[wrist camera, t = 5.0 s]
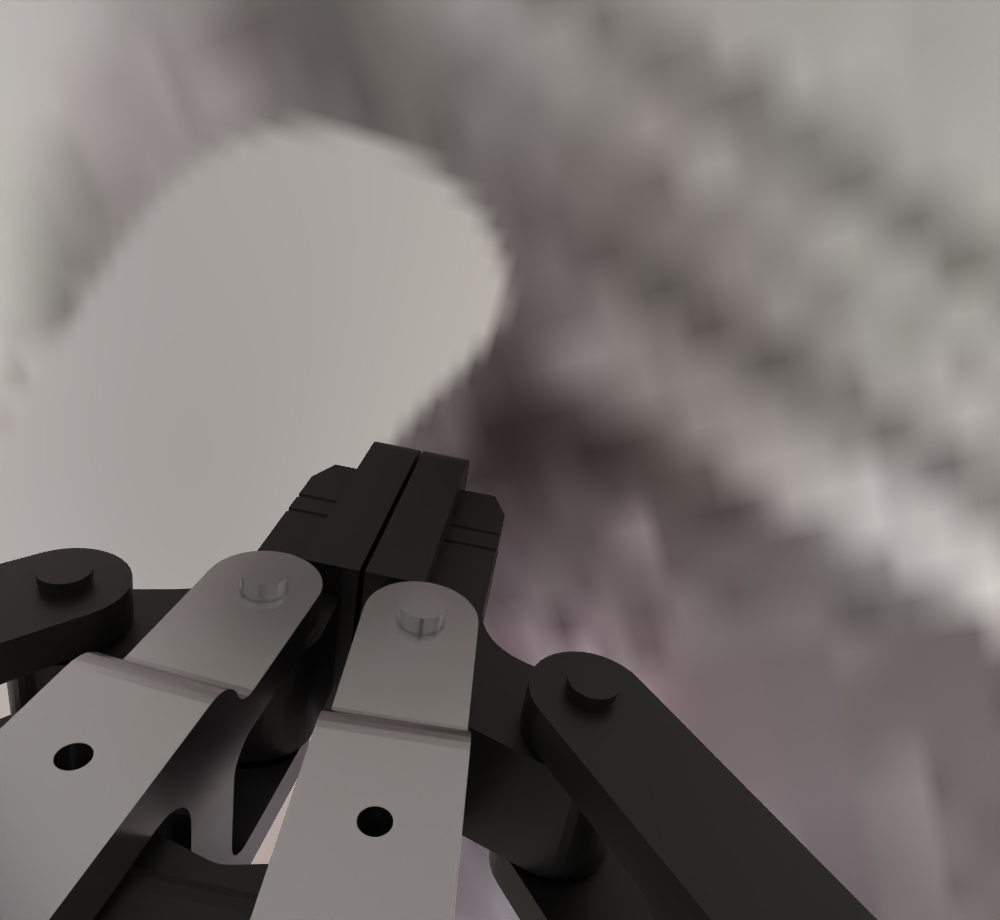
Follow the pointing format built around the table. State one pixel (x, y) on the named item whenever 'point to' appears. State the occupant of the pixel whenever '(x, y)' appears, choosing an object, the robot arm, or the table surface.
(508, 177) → the table surface
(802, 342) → the table surface
